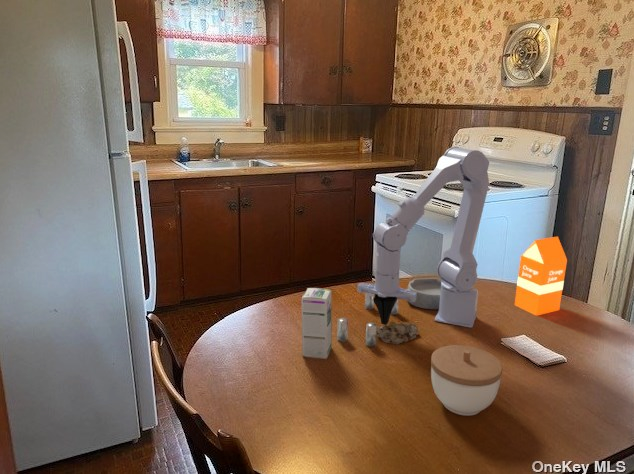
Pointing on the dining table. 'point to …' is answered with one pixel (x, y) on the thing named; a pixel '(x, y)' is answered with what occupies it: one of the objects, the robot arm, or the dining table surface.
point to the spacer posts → (370, 327)
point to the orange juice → (541, 277)
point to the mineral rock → (397, 332)
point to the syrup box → (316, 323)
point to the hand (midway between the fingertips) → (384, 322)
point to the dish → (426, 292)
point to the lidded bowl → (465, 378)
